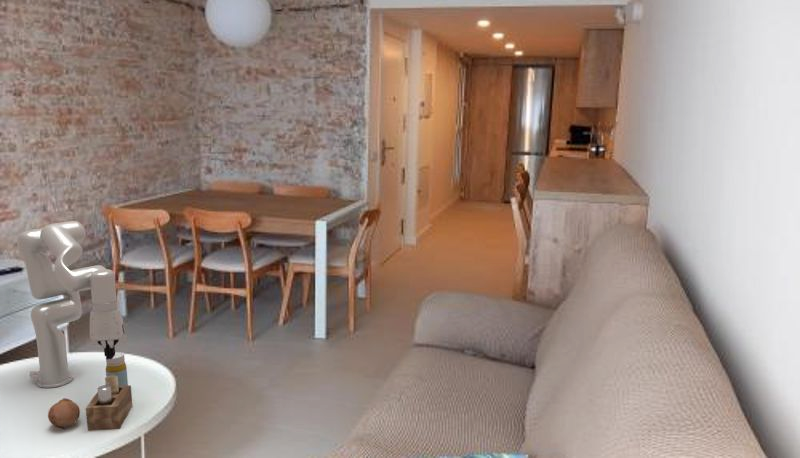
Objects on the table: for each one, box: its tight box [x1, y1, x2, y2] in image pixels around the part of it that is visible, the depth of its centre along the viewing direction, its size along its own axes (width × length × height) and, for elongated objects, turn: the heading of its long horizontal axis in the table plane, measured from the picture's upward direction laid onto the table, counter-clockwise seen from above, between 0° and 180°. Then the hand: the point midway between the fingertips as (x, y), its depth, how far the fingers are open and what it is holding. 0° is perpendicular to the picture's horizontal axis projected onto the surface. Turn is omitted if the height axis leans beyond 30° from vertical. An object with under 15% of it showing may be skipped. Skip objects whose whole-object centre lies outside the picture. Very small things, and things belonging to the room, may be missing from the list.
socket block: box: [85, 384, 134, 432], centre depth 220 cm, size 10×16×8 cm, turn 8°
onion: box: [47, 397, 81, 430], centre depth 215 cm, size 10×9×10 cm
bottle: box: [105, 351, 129, 386], centre depth 238 cm, size 7×7×15 cm
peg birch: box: [104, 375, 119, 395], centre depth 223 cm, size 4×4×8 cm
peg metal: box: [97, 384, 112, 406], centre depth 215 cm, size 4×4×8 cm
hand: (110, 357), depth 220 cm, fingers closed
